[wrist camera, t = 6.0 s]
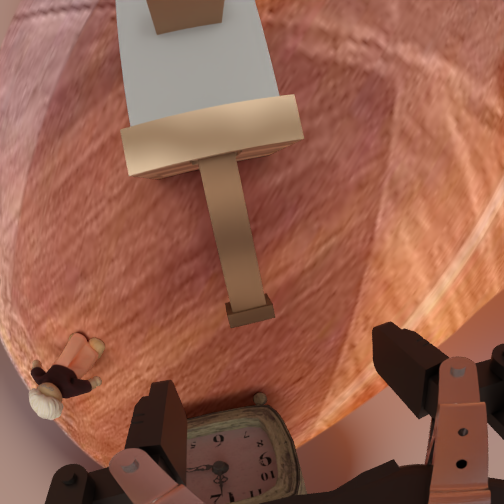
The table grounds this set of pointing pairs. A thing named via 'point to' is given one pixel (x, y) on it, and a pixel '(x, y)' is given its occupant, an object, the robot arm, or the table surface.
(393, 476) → the robot arm
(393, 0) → the table surface
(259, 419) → the tabletop clock
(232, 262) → the bar
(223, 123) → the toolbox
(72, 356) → the grandmother figurine
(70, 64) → the table surface
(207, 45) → the lid
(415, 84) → the table surface
